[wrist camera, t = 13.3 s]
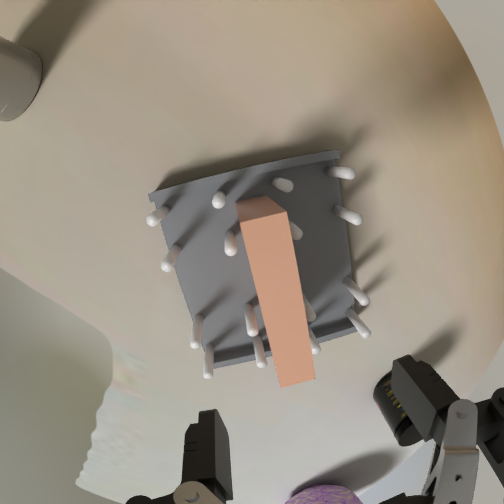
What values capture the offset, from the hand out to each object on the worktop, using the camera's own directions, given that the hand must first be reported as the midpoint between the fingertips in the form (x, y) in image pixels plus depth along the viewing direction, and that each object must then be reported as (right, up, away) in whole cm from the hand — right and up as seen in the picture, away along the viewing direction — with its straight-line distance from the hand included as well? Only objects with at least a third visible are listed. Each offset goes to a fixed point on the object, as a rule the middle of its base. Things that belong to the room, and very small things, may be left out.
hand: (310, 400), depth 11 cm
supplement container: (+19, -14, +28) cm, 36 cm away
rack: (-1, +5, +19) cm, 20 cm away
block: (-1, +5, +19) cm, 19 cm away
